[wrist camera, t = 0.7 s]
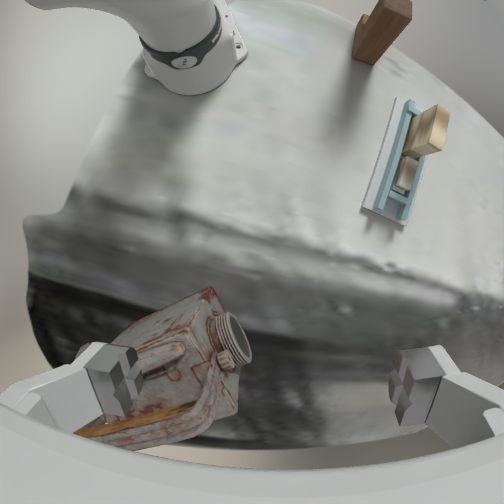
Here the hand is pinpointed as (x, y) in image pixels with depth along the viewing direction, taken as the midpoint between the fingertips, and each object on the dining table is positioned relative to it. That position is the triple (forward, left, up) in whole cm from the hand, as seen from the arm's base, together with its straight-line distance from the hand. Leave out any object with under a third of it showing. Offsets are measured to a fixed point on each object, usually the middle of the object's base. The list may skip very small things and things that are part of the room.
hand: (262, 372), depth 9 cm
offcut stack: (-8, +26, -43) cm, 51 cm away
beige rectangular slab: (-14, +29, -43) cm, 54 cm away
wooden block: (-34, +25, -44) cm, 61 cm away
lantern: (+17, -17, -44) cm, 50 cm away
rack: (-11, +27, -44) cm, 53 cm away
